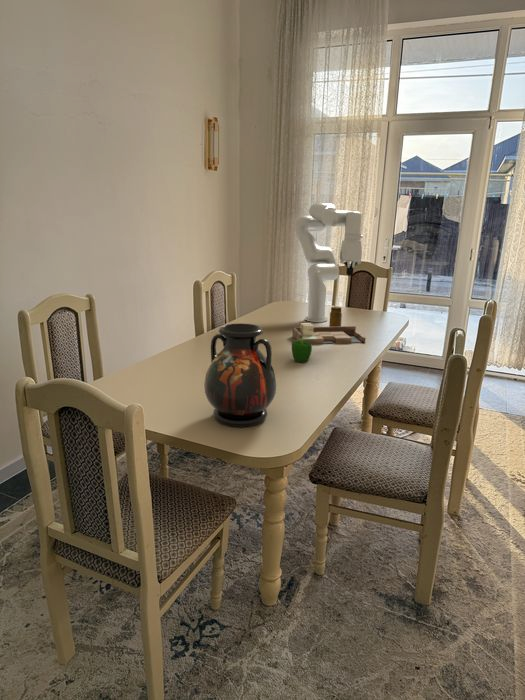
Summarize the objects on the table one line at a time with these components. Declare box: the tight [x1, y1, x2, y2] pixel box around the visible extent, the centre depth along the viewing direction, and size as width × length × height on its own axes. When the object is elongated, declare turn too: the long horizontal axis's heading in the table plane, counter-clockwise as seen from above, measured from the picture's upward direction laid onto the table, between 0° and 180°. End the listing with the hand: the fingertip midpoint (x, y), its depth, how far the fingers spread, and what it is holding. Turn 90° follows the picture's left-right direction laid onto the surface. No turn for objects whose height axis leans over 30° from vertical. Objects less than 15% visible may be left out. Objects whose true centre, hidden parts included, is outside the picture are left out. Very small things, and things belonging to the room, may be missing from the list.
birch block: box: [300, 322, 315, 336], centre depth 237 cm, size 5×5×5 cm
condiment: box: [328, 306, 343, 327], centre depth 256 cm, size 7×8×12 cm
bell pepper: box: [291, 339, 313, 363], centre depth 204 cm, size 8×8×10 cm
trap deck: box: [292, 325, 367, 345], centre depth 238 cm, size 15×32×4 cm, turn 100°
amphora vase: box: [203, 323, 277, 428], centre depth 146 cm, size 22×22×28 cm
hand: (349, 275), depth 246 cm, fingers closed
